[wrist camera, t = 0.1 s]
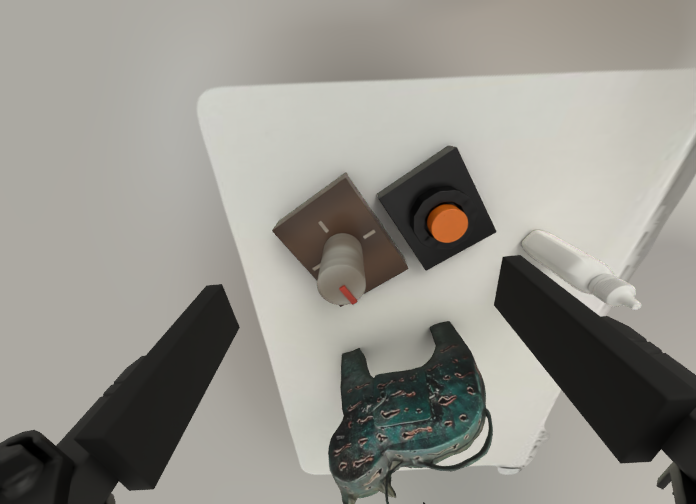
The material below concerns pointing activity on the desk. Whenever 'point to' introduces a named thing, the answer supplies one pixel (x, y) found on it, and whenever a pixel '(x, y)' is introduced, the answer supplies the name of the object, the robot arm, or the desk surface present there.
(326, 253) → the knob
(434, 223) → the button
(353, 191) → the panel
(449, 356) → the ceramic cat
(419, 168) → the button box
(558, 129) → the desk surface
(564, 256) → the eye dropper bottle
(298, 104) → the desk surface
